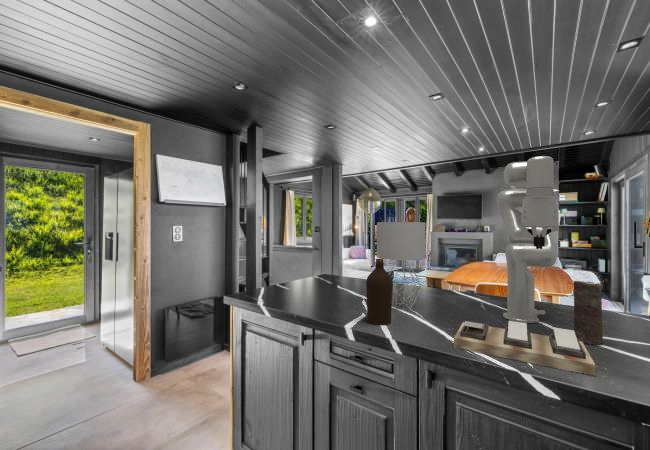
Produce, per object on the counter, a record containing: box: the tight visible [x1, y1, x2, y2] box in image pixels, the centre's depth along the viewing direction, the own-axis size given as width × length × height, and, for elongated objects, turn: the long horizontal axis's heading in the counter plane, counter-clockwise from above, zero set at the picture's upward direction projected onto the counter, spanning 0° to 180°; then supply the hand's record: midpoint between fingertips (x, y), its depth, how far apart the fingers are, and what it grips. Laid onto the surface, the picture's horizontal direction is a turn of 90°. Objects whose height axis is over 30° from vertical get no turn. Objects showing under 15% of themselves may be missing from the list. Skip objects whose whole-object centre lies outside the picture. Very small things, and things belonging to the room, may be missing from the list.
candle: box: [573, 280, 604, 345], centre depth 104 cm, size 8×7×20 cm
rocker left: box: [464, 320, 486, 329], centre depth 103 cm, size 5×11×1 cm, turn 148°
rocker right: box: [553, 327, 580, 352], centre depth 90 cm, size 5×11×1 cm, turn 148°
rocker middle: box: [507, 320, 528, 343], centre depth 96 cm, size 5×11×1 cm, turn 148°
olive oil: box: [365, 258, 394, 326], centre depth 123 cm, size 11×11×25 cm
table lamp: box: [376, 221, 427, 311], centre depth 146 cm, size 22×22×40 cm
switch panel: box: [453, 320, 596, 377], centre depth 96 cm, size 34×19×4 cm, turn 58°
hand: (539, 248), depth 103 cm, fingers closed
